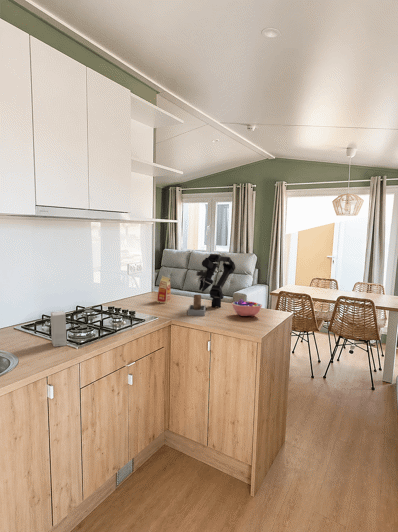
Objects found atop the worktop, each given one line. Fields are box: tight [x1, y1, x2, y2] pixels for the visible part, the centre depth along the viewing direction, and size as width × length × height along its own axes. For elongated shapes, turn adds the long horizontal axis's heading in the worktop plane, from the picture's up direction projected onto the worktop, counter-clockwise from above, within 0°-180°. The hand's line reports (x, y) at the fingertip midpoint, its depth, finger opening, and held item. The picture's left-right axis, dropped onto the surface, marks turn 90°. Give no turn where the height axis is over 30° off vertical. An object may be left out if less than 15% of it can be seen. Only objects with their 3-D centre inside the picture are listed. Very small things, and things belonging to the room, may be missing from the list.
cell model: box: [231, 298, 263, 317], centre depth 225 cm, size 17×20×11 cm
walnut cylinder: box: [192, 294, 202, 310], centre depth 229 cm, size 5×5×11 cm
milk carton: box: [156, 275, 172, 304], centre depth 260 cm, size 9×9×20 cm
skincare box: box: [50, 310, 68, 348], centre depth 159 cm, size 8×6×15 cm
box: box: [187, 304, 207, 317], centre depth 229 cm, size 11×15×4 cm
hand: (200, 290), depth 240 cm, fingers open, 9 cm apart
